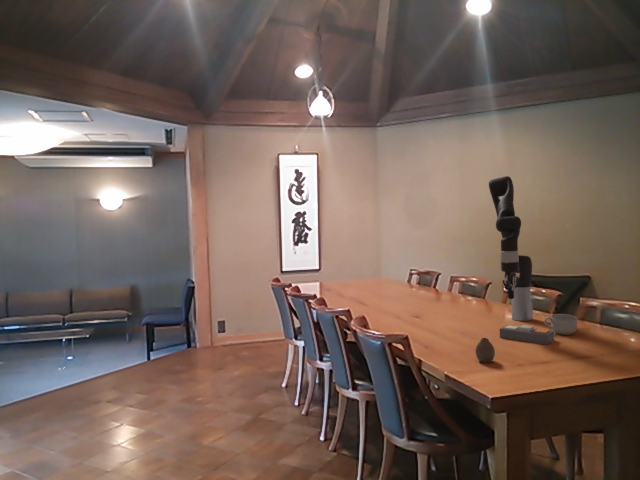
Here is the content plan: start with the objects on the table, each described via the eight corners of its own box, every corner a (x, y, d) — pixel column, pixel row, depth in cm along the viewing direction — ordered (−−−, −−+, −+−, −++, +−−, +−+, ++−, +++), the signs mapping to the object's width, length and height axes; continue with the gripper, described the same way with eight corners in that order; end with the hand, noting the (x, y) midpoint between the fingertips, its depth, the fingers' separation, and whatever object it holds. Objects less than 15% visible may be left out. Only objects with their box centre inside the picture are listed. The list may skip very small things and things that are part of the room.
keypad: (554, 340, 208) (554, 331, 208) (547, 344, 202) (547, 335, 202) (507, 333, 222) (507, 325, 222) (499, 337, 216) (499, 328, 216)
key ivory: (518, 332, 217) (518, 326, 216) (514, 334, 213) (514, 328, 213) (508, 330, 220) (508, 325, 220) (504, 332, 216) (504, 327, 216)
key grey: (533, 331, 212) (533, 326, 212) (529, 334, 209) (529, 328, 209) (523, 330, 215) (522, 325, 215) (519, 332, 212) (518, 327, 212)
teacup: (575, 331, 222) (575, 313, 222) (579, 336, 212) (579, 318, 212) (542, 329, 227) (542, 313, 227) (544, 335, 217) (544, 318, 216)
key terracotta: (549, 336, 208) (549, 330, 207) (545, 338, 204) (545, 332, 204) (538, 334, 211) (538, 329, 211) (534, 337, 207) (534, 331, 207)
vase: (472, 359, 186) (472, 336, 186) (490, 358, 187) (489, 335, 186) (480, 364, 179) (479, 341, 179) (498, 363, 180) (497, 340, 180)
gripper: (507, 258, 225) (508, 295, 226) (495, 262, 215) (497, 300, 216) (523, 259, 220) (524, 296, 221) (512, 262, 210) (514, 302, 211)
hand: (511, 298), depth 218 cm, fingers closed
